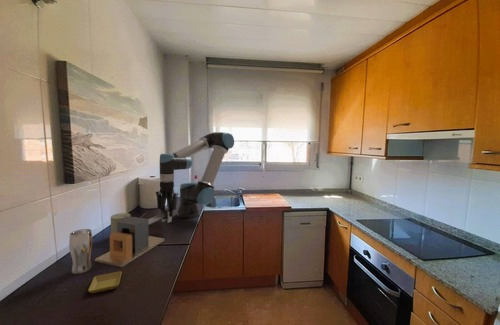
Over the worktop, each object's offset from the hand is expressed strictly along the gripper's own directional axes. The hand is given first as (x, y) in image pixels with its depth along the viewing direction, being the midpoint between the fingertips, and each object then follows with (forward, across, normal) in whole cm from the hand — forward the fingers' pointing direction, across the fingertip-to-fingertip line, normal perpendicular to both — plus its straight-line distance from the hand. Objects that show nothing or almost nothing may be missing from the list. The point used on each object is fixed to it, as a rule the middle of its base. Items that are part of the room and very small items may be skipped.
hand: (166, 221), depth 122 cm
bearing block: (+6, 0, -24) cm, 25 cm away
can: (+6, -17, -15) cm, 23 cm away
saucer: (+6, +11, -47) cm, 49 cm away
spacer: (+5, 0, -31) cm, 31 cm away
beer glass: (+6, -6, -43) cm, 44 cm away
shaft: (-2, 0, -12) cm, 12 cm away
